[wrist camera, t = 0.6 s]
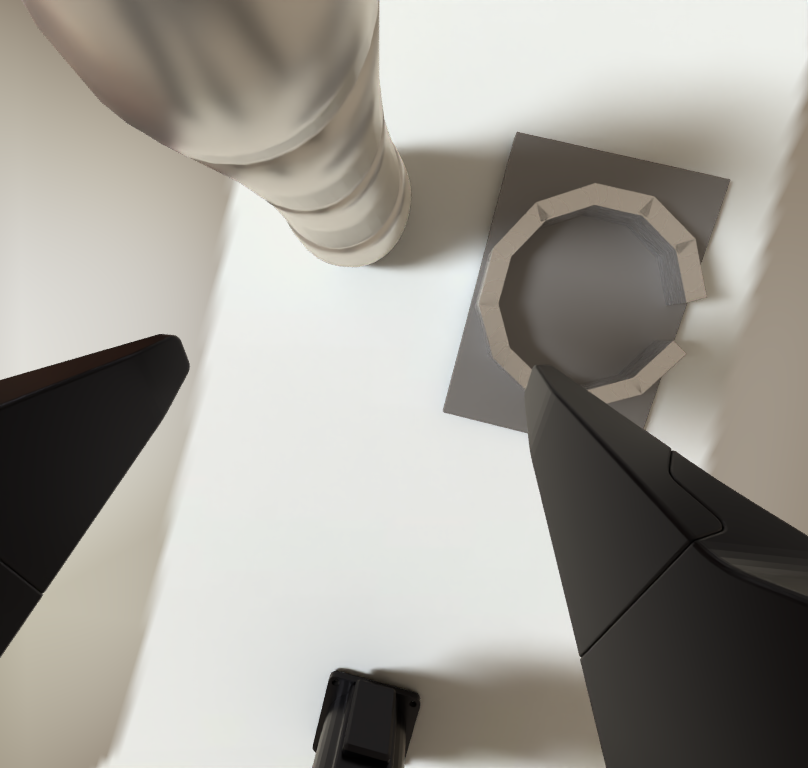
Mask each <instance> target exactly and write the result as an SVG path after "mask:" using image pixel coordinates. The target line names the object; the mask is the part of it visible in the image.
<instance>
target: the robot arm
mask: <svg viewBox="0 0 808 768" xmlns="http://www.w3.org/2000/svg"><path fill="white" fill-rule="evenodd" d="M189 367H190V366H189V361H188V358H187V355H186V353H185V350H184V347H183V345H182V342H181V340H180V339H179V338H178V337H177V336H175V335H165V334H158V335H155V336H151V337H148V338H144V339H141V340H137V341H134V342H130V343H127V344H124V345H121V346H117V347H113V348H110V349H106V350H103V351H99V352H96V353H92V354H89V355H85V356H82V357H79V358H75V359H72V360H68V361H65V362H61V363H58V364H54V365H51V366H47V367H44V368H41V369H37V370H34V371H30V372H27V373H23V374H20V375H17V376H13V377H10V378H6V379H2V380H0V657H1V656H2V654H3V653H4V652H5V650H6V649H7V647H8V646H9V644H10V642H11V641H12V640H13V638H14V637H15V636H16V634H17V632H18V631H19V630H20V628H21V627H22V625H23V624H24V622H25V621H26V619H27V618H28V616H29V615H30V614H31V612H32V611H33V609H34V608H35V606H36V605H37V603H38V602H39V600H40V599H41V597H42V596H43V594H42V593H44V592H45V591H46V590H47V588H48V587H49V585H50V584H51V582H52V581H53V579H54V578H55V576H56V575H57V573H58V572H59V571H60V569H61V568H62V566H63V565H64V563H65V561H66V560H67V559H68V557H69V556H70V555H71V553H72V552H73V550H74V548H75V547H76V546H77V544H78V543H79V541H80V540H81V538H82V537H83V536H84V534H85V533H86V531H87V529H88V528H89V527H90V525H91V524H92V522H93V521H94V519H95V518H96V517H97V515H98V514H99V512H100V511H101V509H102V508H103V506H104V505H105V503H106V502H107V500H108V499H109V498H110V496H111V494H112V493H113V492H114V490H115V489H116V487H117V486H118V484H119V483H120V482H121V480H122V478H123V477H124V476H125V474H126V473H127V471H128V470H129V468H130V467H131V465H132V464H133V462H134V461H135V460H136V458H137V457H138V455H139V454H140V452H141V451H142V449H143V448H144V446H145V445H146V443H147V442H148V441H149V439H150V438H151V436H152V435H153V433H154V432H155V430H156V429H157V428H158V426H159V425H160V423H161V421H162V420H163V418H164V417H165V415H166V413H167V411H168V410H169V407H170V406H171V404H172V402H173V400H174V398H175V396H176V395H177V393H178V391H179V389H180V387H181V385H182V383H183V382H184V380H185V378H186V376H187V374H188V372H189ZM524 401H525V411H526V420H527V429H528V439H529V447H530V453H531V458H532V463H533V467H534V471H535V475H536V479H537V483H538V487H539V491H540V495H541V500H542V504H543V508H544V512H545V516H546V520H547V524H548V528H549V532H550V537H551V541H552V545H553V549H554V553H555V557H556V561H557V565H558V570H559V574H560V578H561V582H562V586H563V590H564V594H565V598H566V602H567V607H568V611H569V615H570V619H571V623H572V627H573V631H574V635H575V640H576V644H577V648H578V652H579V656H580V657H581V659H580V661H581V665H582V669H583V673H584V678H585V682H586V686H587V690H588V694H589V698H590V702H591V706H592V711H593V715H594V719H595V723H596V727H597V731H598V735H599V739H600V744H601V748H602V752H603V756H604V760H605V764H606V768H808V536H807V535H805V534H804V533H802V532H801V531H799V530H797V529H796V528H794V527H792V526H791V525H789V524H788V523H786V522H784V521H783V520H781V519H779V518H778V517H776V516H775V515H773V514H771V513H770V512H768V511H766V510H765V509H763V508H762V507H760V506H758V505H757V504H755V503H754V502H752V501H750V500H749V499H747V498H746V497H744V496H742V495H741V494H739V493H737V492H736V491H734V490H733V489H731V488H729V487H728V486H726V485H725V484H723V483H722V482H720V481H719V480H717V479H716V478H714V477H713V476H711V475H710V474H708V473H707V472H705V471H704V470H702V469H701V468H699V467H698V466H696V465H695V464H693V463H692V462H690V461H689V460H687V459H686V458H684V457H683V456H682V455H680V454H679V453H677V452H676V451H671V448H670V447H669V446H667V445H666V444H664V443H663V442H661V441H660V440H658V439H657V438H656V437H654V436H653V435H651V434H650V433H648V432H647V431H645V430H644V429H643V428H641V427H640V426H638V425H637V424H635V423H634V422H632V421H631V420H630V419H628V418H627V417H625V416H624V415H622V414H621V413H619V412H618V411H617V410H615V409H614V408H612V407H611V406H609V405H608V404H606V403H605V402H604V401H602V400H601V399H599V398H598V397H596V396H595V395H593V394H592V393H591V392H589V391H588V390H586V389H585V388H583V387H582V386H581V385H579V384H578V383H576V382H575V381H573V380H572V379H570V378H569V377H568V376H566V375H565V374H563V373H562V372H560V371H559V370H557V369H556V368H555V367H553V366H550V365H539V364H538V365H535V366H534V367H533V368H532V371H531V374H530V377H529V380H528V384H527V387H526V390H525V396H524ZM337 680H338V681H337ZM419 708H420V696H419V695H418V693H415V692H412V691H409V690H405V689H401V688H398V687H394V686H390V685H387V684H383V683H379V682H376V681H372V680H368V679H365V678H361V677H357V676H354V675H350V674H346V673H343V672H339V671H334V672H332V673H331V675H330V677H329V681H328V685H327V689H326V693H325V698H324V702H323V706H322V710H321V714H320V718H319V722H318V726H317V731H316V735H315V739H314V743H313V750H314V751H315V752H316V755H315V759H314V763H313V766H312V768H404V761H405V757H406V753H407V750H408V746H409V743H410V739H411V736H412V732H413V729H414V725H415V722H416V718H417V715H418V712H419Z"/></svg>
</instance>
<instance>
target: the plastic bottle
mask: <svg viewBox="0 0 808 768" xmlns="http://www.w3.org/2000/svg"><path fill="white" fill-rule="evenodd" d="M22 2H23V4H24V5H25V7H26V9H27V10H28V12H29V14H30V15H31V17H32V19H33V21H34V22H35V24H36V25H37V27H38V29H39V30H40V31H41V32H42V33H43V35H44V36H45V37H46V38H47V39H48V40H49V42H50V43H51V44H52V45H53V46H54V47H55V49H56V50H57V51H58V52H59V53H60V55H61V56H62V57H63V58H64V59H65V60H66V62H67V63H68V64H69V65H70V66H71V68H72V69H73V70H74V71H75V72H76V73H77V75H78V76H79V77H80V78H81V79H82V80H83V82H84V83H85V84H86V85H87V86H88V88H89V89H90V90H91V91H92V92H93V93H94V95H95V96H96V97H97V98H98V99H99V100H100V102H102V103H103V104H104V105H105V106H106V107H108V108H109V109H110V110H111V111H113V112H114V113H115V114H116V115H118V116H119V117H120V118H121V119H123V120H124V121H125V122H126V123H127V124H129V125H131V126H133V127H134V128H136V129H138V130H140V131H141V132H143V133H145V134H146V135H148V136H150V137H151V138H153V139H154V140H156V141H158V142H159V143H161V144H163V145H165V146H167V147H169V148H171V149H172V150H175V151H176V152H178V153H180V154H182V155H184V156H186V157H189V158H191V159H193V160H195V161H197V162H199V163H201V164H203V165H205V166H207V167H209V168H211V169H213V170H215V171H217V172H219V173H221V174H223V175H225V176H227V177H229V178H231V179H233V180H236V181H238V182H240V183H241V184H242V185H244V186H245V187H247V188H248V189H250V190H251V191H253V192H254V193H255V194H257V195H258V196H260V197H261V198H263V199H265V200H266V201H267V202H269V203H270V204H271V205H273V206H274V207H275V208H276V209H277V210H278V211H279V213H280V214H281V215H282V216H283V217H284V218H285V219H286V220H287V222H288V224H289V226H290V228H291V229H292V231H293V233H294V234H295V235H296V237H297V238H298V239H299V241H300V242H301V243H302V244H303V245H304V247H305V248H306V249H307V250H308V251H309V252H310V253H312V254H313V255H314V256H315V257H317V258H318V259H320V260H322V261H324V262H326V263H329V264H332V265H336V266H343V267H360V266H366V265H369V264H371V263H374V262H376V261H378V260H379V259H381V258H382V257H384V256H385V255H387V254H388V253H389V252H390V251H391V250H392V249H393V248H394V246H395V245H396V243H397V242H398V241H399V239H400V237H401V235H402V233H403V231H404V229H405V226H406V223H407V220H408V216H409V212H410V207H411V187H410V180H409V177H408V173H407V170H406V167H405V165H404V163H403V160H402V158H401V156H400V154H399V152H398V150H397V148H396V147H395V145H394V144H393V142H392V140H391V137H390V135H389V132H388V129H387V126H386V123H385V120H384V113H383V105H382V97H381V88H380V80H379V0H22Z"/></svg>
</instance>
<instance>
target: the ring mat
mask: <svg viewBox="0 0 808 768" xmlns="http://www.w3.org/2000/svg"><path fill="white" fill-rule="evenodd" d="M729 182H730V179H725V178H721V177H716V176H712V175H707V174H703V173H699V172H694V171H690V170H685V169H681V168H676V167H672V166H667V165H663V164H658V163H654V162H649V161H645V160H640V159H636V158H632V157H627V156H623V155H618V154H614V153H609V152H605V151H600V150H596V149H591V148H587V147H582V146H578V145H573V144H569V143H565V142H560V141H556V140H551V139H547V138H542V137H538V136H533V135H529V134H524V133H520V132H517V133H516V135H515V138H514V141H513V145H512V149H511V153H510V156H509V160H508V164H507V168H506V172H505V176H504V179H503V183H502V187H501V191H500V195H499V198H498V202H497V206H496V210H495V214H494V218H493V221H492V225H491V229H490V233H489V237H488V240H487V244H486V248H485V252H484V256H483V259H482V263H481V267H480V271H479V275H478V279H477V282H476V286H475V290H474V294H473V298H472V301H471V305H470V309H469V313H468V317H467V320H466V324H465V328H464V332H463V336H462V340H461V343H460V347H459V351H458V355H457V359H456V362H455V366H454V370H453V374H452V378H451V382H450V385H449V389H448V393H447V397H446V401H445V404H444V408H443V412H444V413H448V414H453V415H457V416H461V417H465V418H469V419H473V420H477V421H481V422H485V423H489V424H493V425H497V426H501V427H505V428H509V429H513V430H517V431H521V432H525V433H528V429H527V420H526V411H525V401H524V396H525V392H524V391H523V390H522V389H521V388H520V387H519V386H518V385H517V384H516V383H515V382H514V381H513V380H512V379H511V378H510V377H509V376H508V375H507V374H506V373H505V372H504V371H503V370H502V369H501V368H500V367H498V366H497V365H496V364H495V363H494V362H493V361H492V360H491V359H490V358H489V357H488V354H487V351H486V347H485V343H484V339H483V336H482V332H481V328H480V324H479V321H478V317H477V313H476V309H475V304H476V300H477V296H478V292H479V289H480V285H481V281H482V277H483V273H484V270H485V266H486V262H487V258H488V254H489V253H490V252H491V250H492V249H493V248H494V246H495V245H496V244H497V243H498V242H499V241H500V240H501V239H502V238H503V237H504V236H505V235H506V234H507V233H508V232H509V231H510V229H511V228H512V227H513V226H514V225H515V224H516V223H517V222H518V221H519V220H520V219H521V218H522V217H523V216H524V215H525V214H526V213H527V211H528V210H529V209H530V208H531V207H532V206H533V205H534V204H535V203H536V202H538V201H542V200H545V199H548V198H551V197H554V196H557V195H560V194H563V193H566V192H569V191H572V190H575V189H579V188H582V187H585V186H588V185H591V184H594V183H597V184H602V185H606V186H611V187H615V188H619V189H624V190H628V191H633V192H637V193H641V194H646V195H650V196H654V197H655V198H656V199H657V200H658V201H659V202H660V203H661V204H662V205H663V206H664V207H665V208H666V209H667V210H668V211H669V212H670V213H671V214H672V215H673V216H674V217H675V218H676V219H677V220H678V221H679V222H680V223H681V224H682V225H683V226H684V228H685V229H686V230H687V231H688V232H689V233H690V234H691V235H692V236H693V237H694V238H695V239H696V244H697V249H698V255H699V260H700V265H701V262H702V259H703V256H704V254H705V251H706V248H707V245H708V242H709V239H710V236H711V234H712V231H713V228H714V225H715V222H716V219H717V216H718V214H719V211H720V208H721V205H722V202H723V199H724V196H725V193H726V191H727V188H728V185H729ZM498 304H499V308H500V312H501V316H502V319H503V323H504V327H505V331H506V335H507V339H508V342H509V346H510V349H511V350H512V351H514V352H515V353H516V354H517V355H518V356H519V357H520V358H521V359H522V360H523V361H524V362H525V363H526V364H527V365H528V366H529V367H530V368H531V369H532V368H533V367H534V366H535V365H538V364H539V365H550V366H553V367H555V368H556V369H557V370H559V371H560V372H562V373H563V374H565V375H566V376H568V377H569V378H570V379H572V380H573V381H575V382H576V383H578V384H579V385H581V384H585V383H588V382H592V381H596V380H599V379H603V378H607V377H610V376H614V375H617V374H618V373H620V372H621V371H622V370H623V369H624V368H625V367H626V366H627V365H628V364H629V363H630V362H631V361H632V360H633V359H635V358H636V357H637V356H638V355H639V354H640V353H641V352H642V351H643V350H644V349H645V348H646V347H647V346H649V345H650V344H651V343H652V342H653V341H654V340H667V341H674V340H675V337H676V334H677V331H678V328H679V325H680V322H681V320H682V317H683V314H684V311H685V308H686V305H687V303H681V304H673V305H666V303H665V298H664V293H663V288H662V284H661V279H660V274H659V269H658V264H657V260H656V257H655V256H654V255H653V254H652V253H651V252H650V251H649V250H648V248H647V247H646V246H645V245H644V244H643V243H642V242H641V241H640V240H639V239H638V238H637V237H636V236H635V235H634V234H633V233H632V232H631V231H630V230H629V229H628V228H627V227H626V226H625V225H620V224H616V223H612V222H607V221H603V220H599V219H594V218H590V217H586V216H577V217H574V218H571V219H568V220H565V221H562V222H559V223H555V224H552V225H549V226H546V227H543V228H540V229H537V230H536V231H535V232H534V233H533V234H532V235H531V236H530V238H529V239H528V240H527V241H526V242H525V243H524V244H523V245H522V246H521V247H520V248H519V249H518V250H517V251H516V252H515V253H514V254H513V255H512V256H511V259H510V263H509V266H508V270H507V274H506V277H505V281H504V285H503V288H502V292H501V296H500V299H499V303H498ZM660 380H661V377H660V378H659V379H658V380H657V381H656V382H655V383H654V384H653V385H652V386H651V387H649V388H648V389H647V390H646V391H645V392H644V393H643V394H641V395H637V396H633V397H630V398H626V399H622V400H618V401H614V402H611V403H607V404H608V405H609V406H611V407H612V408H614V409H615V410H617V411H618V412H619V413H621V414H622V415H624V416H625V417H627V418H628V419H630V420H631V421H632V422H634V423H635V424H637V425H638V426H640V427H641V428H644V426H645V423H646V420H647V417H648V414H649V411H650V408H651V405H652V403H653V400H654V397H655V394H656V391H657V388H658V385H659V383H660Z"/></svg>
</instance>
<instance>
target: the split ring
mask: <svg viewBox="0 0 808 768" xmlns="http://www.w3.org/2000/svg"><path fill="white" fill-rule="evenodd" d="M577 216H586V217H590V218H594V219H599V220H603V221H607V222H612V223H616V224H620V225H625V226H626V227H627V228H628V229H629V230H630V231H631V232H632V233H633V234H634V235H635V236H636V237H637V238H638V239H639V240H640V241H641V242H642V243H643V244H644V245H645V246H646V247H647V248H648V250H649V251H650V252H651V253H652V254H653V255H654V256H655V257H656V260H657V264H658V269H659V274H660V279H661V284H662V288H663V293H664V298H665V303H666V305H673V304H681V303H687V302H691V301H694V300H698V299H701V298H705V297H707V296H706V291H705V285H704V280H703V275H702V270H701V265H700V260H699V255H698V249H697V244H696V239H695V238H694V237H693V236H692V235H691V234H690V233H689V232H688V231H687V230H686V229H685V228H684V226H683V225H682V224H681V223H680V222H679V221H678V220H677V219H676V218H675V217H674V216H673V215H672V214H671V213H670V212H669V211H668V210H667V209H666V208H665V207H664V206H663V205H662V204H661V203H660V202H659V201H658V200H657V199H656V198H655V197H654V196H650V195H646V194H641V193H637V192H633V191H628V190H624V189H619V188H615V187H611V186H606V185H602V184H597V183H594V184H591V185H588V186H585V187H582V188H579V189H575V190H572V191H569V192H566V193H563V194H560V195H557V196H554V197H551V198H548V199H545V200H542V201H538V202H536V203H535V204H534V205H533V206H532V207H531V208H530V209H529V210H528V211H527V213H526V214H525V215H524V216H523V217H522V218H521V219H520V220H519V221H518V222H517V223H516V224H515V225H514V226H513V227H512V228H511V229H510V231H509V232H508V233H507V234H506V235H505V236H504V237H503V238H502V239H501V240H500V241H499V242H498V243H497V244H496V245H495V246H494V248H493V249H492V250H491V252H490V253H489V254H488V258H487V262H486V266H485V270H484V273H483V277H482V281H481V285H480V289H479V292H478V296H477V300H476V304H475V309H476V313H477V317H478V321H479V324H480V328H481V332H482V336H483V339H484V343H485V347H486V351H487V354H488V357H489V358H490V359H491V360H492V361H493V362H494V363H495V364H496V365H497V366H498V367H500V368H501V369H502V370H503V371H504V372H505V373H506V374H507V375H508V376H509V377H510V378H511V379H512V380H513V381H514V382H515V383H516V384H517V385H518V386H519V387H520V388H521V389H522V390H523V391H524V392H525V390H526V387H527V384H528V380H529V377H530V374H531V371H532V369H531V368H530V367H529V366H528V365H527V364H526V363H525V362H524V361H523V360H522V359H521V358H520V357H519V356H518V355H517V354H516V353H515V352H514V351H512V350H511V349H510V346H509V342H508V339H507V335H506V331H505V327H504V323H503V319H502V316H501V312H500V308H499V304H498V303H499V299H500V296H501V292H502V288H503V285H504V281H505V277H506V274H507V270H508V266H509V263H510V259H511V256H512V255H513V254H514V253H515V252H516V251H517V250H518V249H519V248H520V247H521V246H522V245H523V244H524V243H525V242H526V241H527V240H528V239H529V238H530V236H531V235H532V234H533V233H534V232H535V231H536V230H537V229H540V228H543V227H546V226H549V225H552V224H555V223H559V222H562V221H565V220H568V219H571V218H574V217H577ZM685 355H686V353H685V352H684V351H683V350H682V349H681V348H680V347H679V346H678V345H677V344H676V343H675V342H674V341H667V340H654V341H653V342H652V343H651V344H650V345H649V346H647V347H646V348H645V349H644V350H643V351H642V352H641V353H640V354H639V355H638V356H637V357H636V358H635V359H633V360H632V361H631V362H630V363H629V364H628V365H627V366H626V367H625V368H624V369H623V370H622V371H621V372H620V373H618V374H617V375H614V376H610V377H607V378H603V379H599V380H596V381H592V382H588V383H585V384H581V386H582V387H583V388H585V389H586V390H588V391H589V392H591V393H592V394H593V395H595V396H596V397H598V398H599V399H601V400H602V401H604V402H605V403H606V404H607V403H611V402H614V401H618V400H622V399H626V398H630V397H633V396H637V395H641V394H643V393H644V392H645V391H646V390H647V389H648V388H649V387H651V386H652V385H653V384H654V383H655V382H656V381H657V380H658V379H659V378H660V377H662V376H663V375H664V374H665V373H666V372H667V371H668V370H669V369H670V368H671V367H673V366H674V365H675V364H676V363H677V362H678V361H679V360H680V359H681V358H682V357H684V356H685Z"/></svg>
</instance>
